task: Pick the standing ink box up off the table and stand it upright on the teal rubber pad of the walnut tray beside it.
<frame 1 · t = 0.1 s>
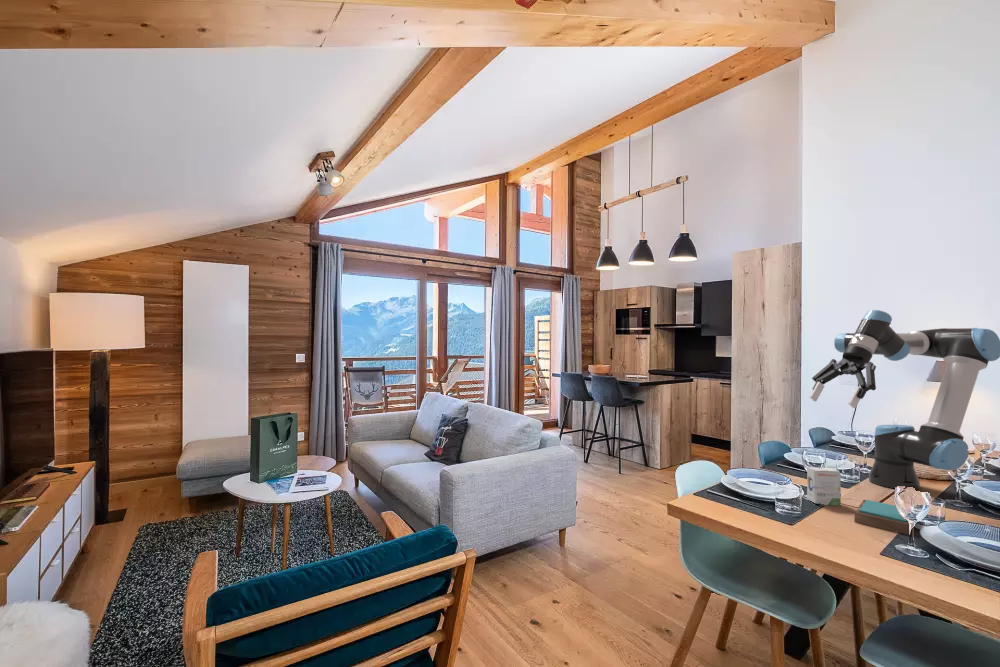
hand: (831, 402, 155), 36 cm above the table, tool tilted 35°, fingers open, 13 cm apart
ink box: (823, 503, 160), on the table
walnut tray: (885, 520, 145), on the table
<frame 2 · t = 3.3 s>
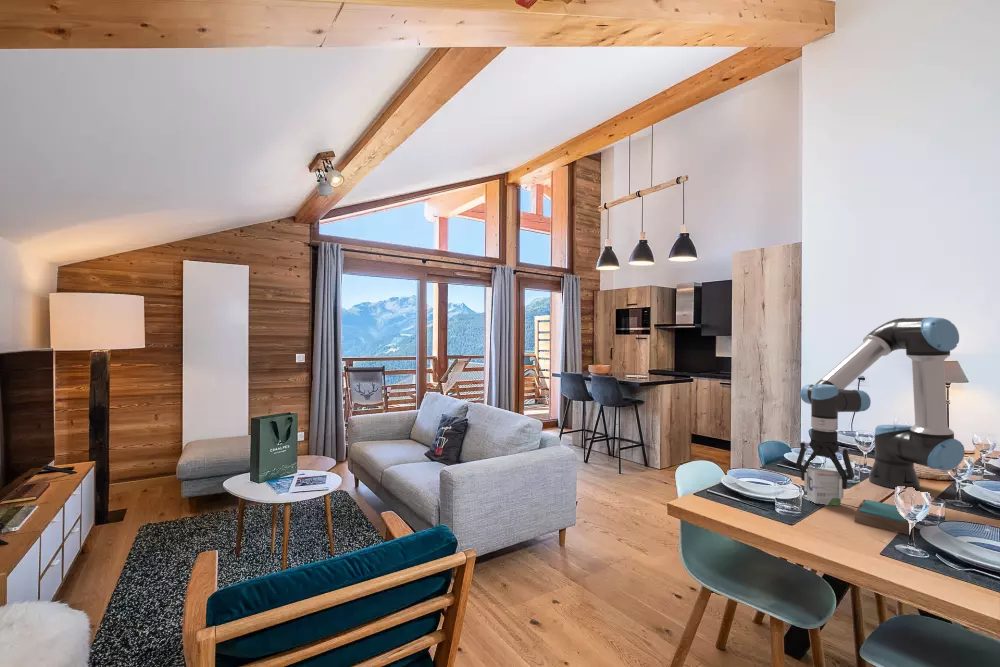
hand: (823, 493, 160), 3 cm above the table, tool pointing down, fingers closed on ink box, 9 cm apart
ink box: (823, 503, 160), on the table, touching gripper
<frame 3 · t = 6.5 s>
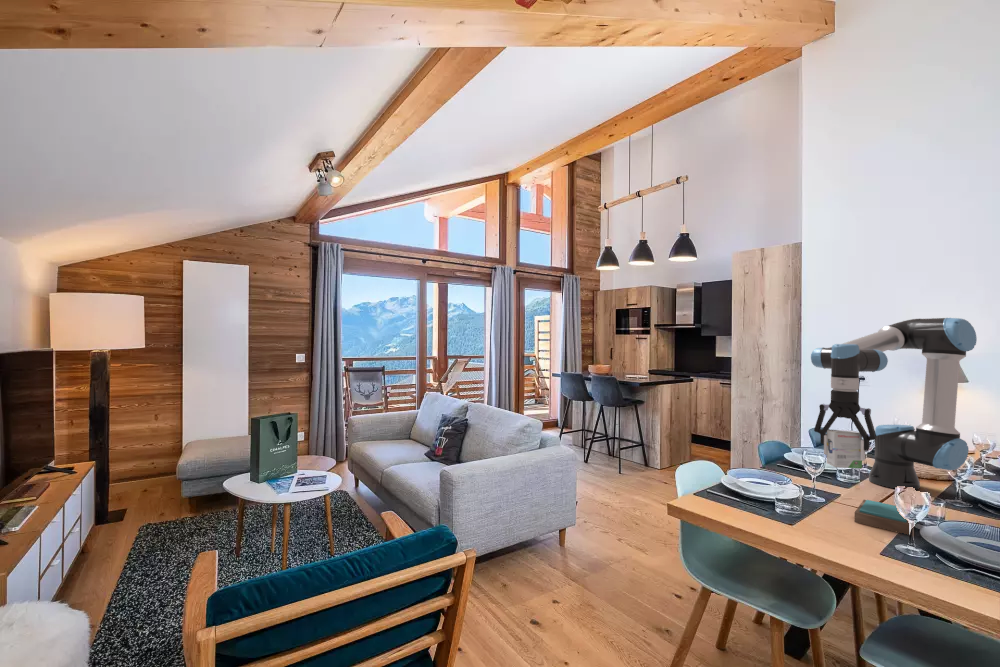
hand: (844, 456, 155), 17 cm above the table, tool pointing down, fingers closed on ink box, 9 cm apart
ink box: (844, 466, 155), point 14 cm above the table, touching gripper
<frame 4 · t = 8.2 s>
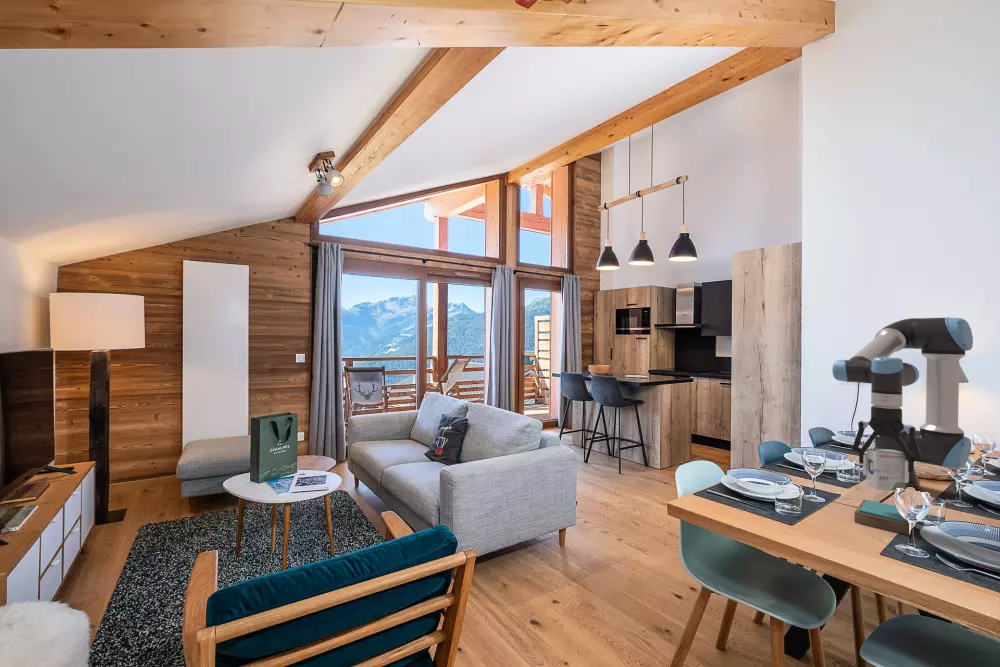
hand: (885, 478, 145), 14 cm above the table, tool pointing down, fingers closed on ink box, 9 cm apart
ink box: (885, 488, 145), point 10 cm above the table, touching gripper
when the fingers open (8 cm above the table, at t = 9.6 s): ink box drops 1 cm, resting on walnut tray.
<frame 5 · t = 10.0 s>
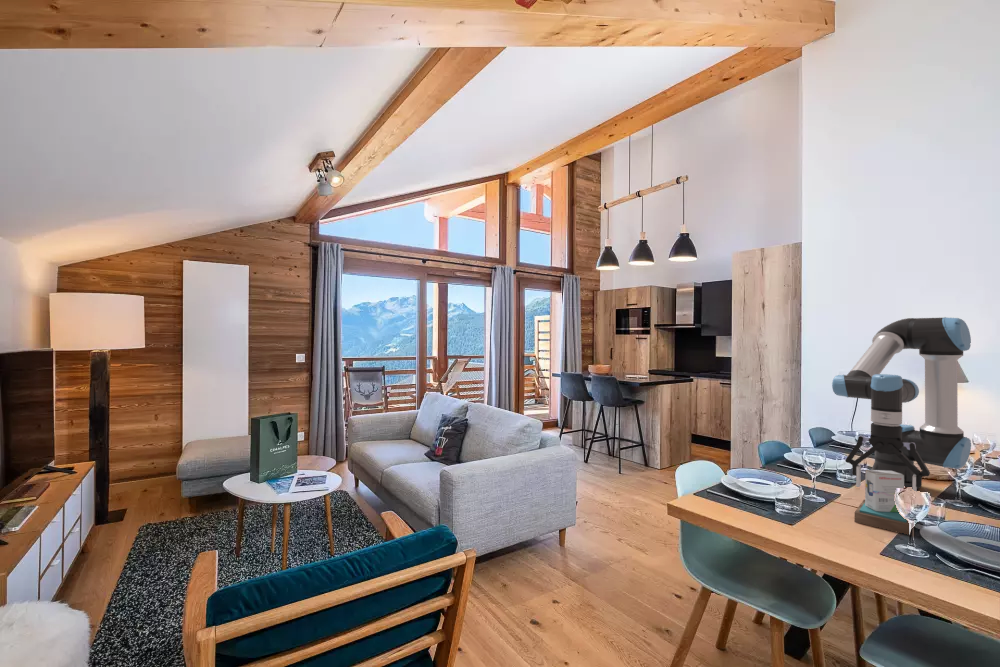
hand: (885, 491, 145), 9 cm above the table, tool pointing down, fingers open, 13 cm apart
ink box: (884, 509, 145), point 3 cm above the table, touching walnut tray
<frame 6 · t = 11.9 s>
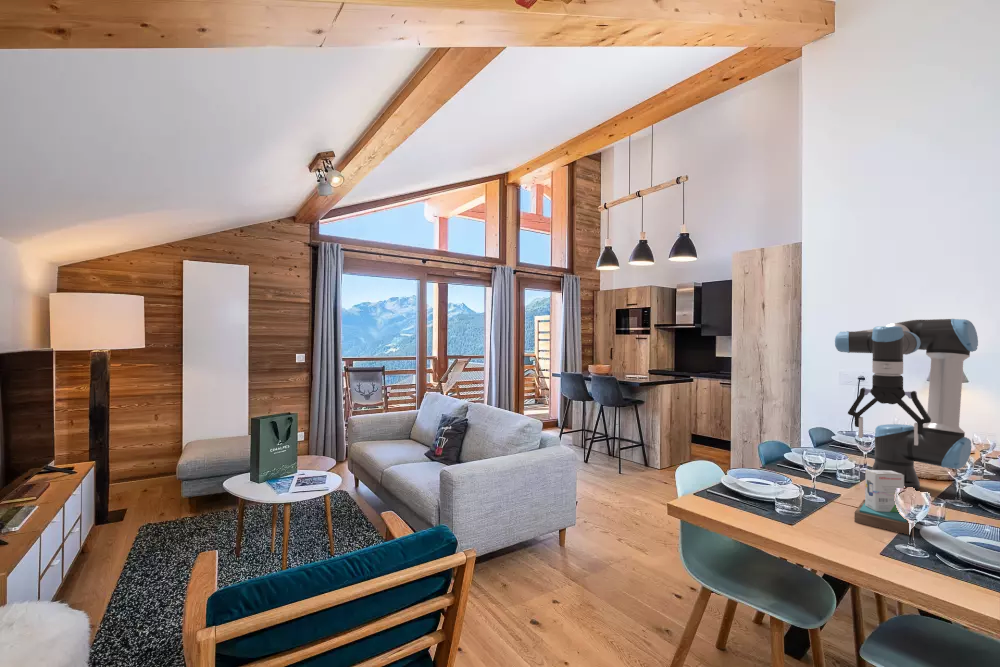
hand: (887, 440, 147), 25 cm above the table, tool pointing down, fingers open, 13 cm apart
nothing on the table moved.
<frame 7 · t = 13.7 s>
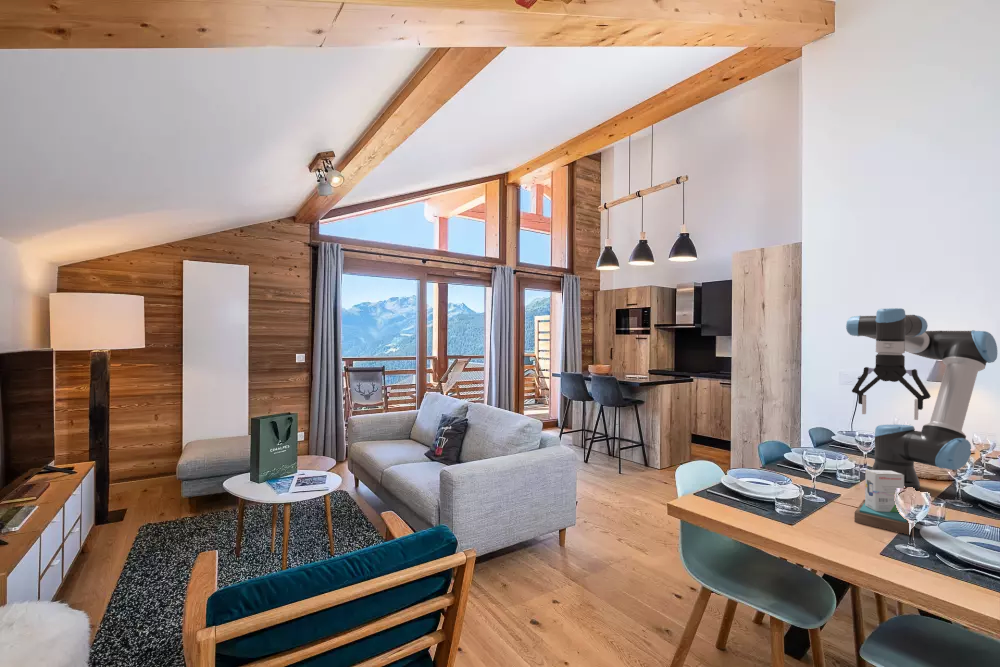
hand: (889, 416, 156), 31 cm above the table, tool pointing down, fingers open, 13 cm apart
nothing on the table moved.
at the end: ink box inside the target area (0.2 cm from its centre), point 3.4 cm above the table; ink box tilted 0°; the gripper is holding nothing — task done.
